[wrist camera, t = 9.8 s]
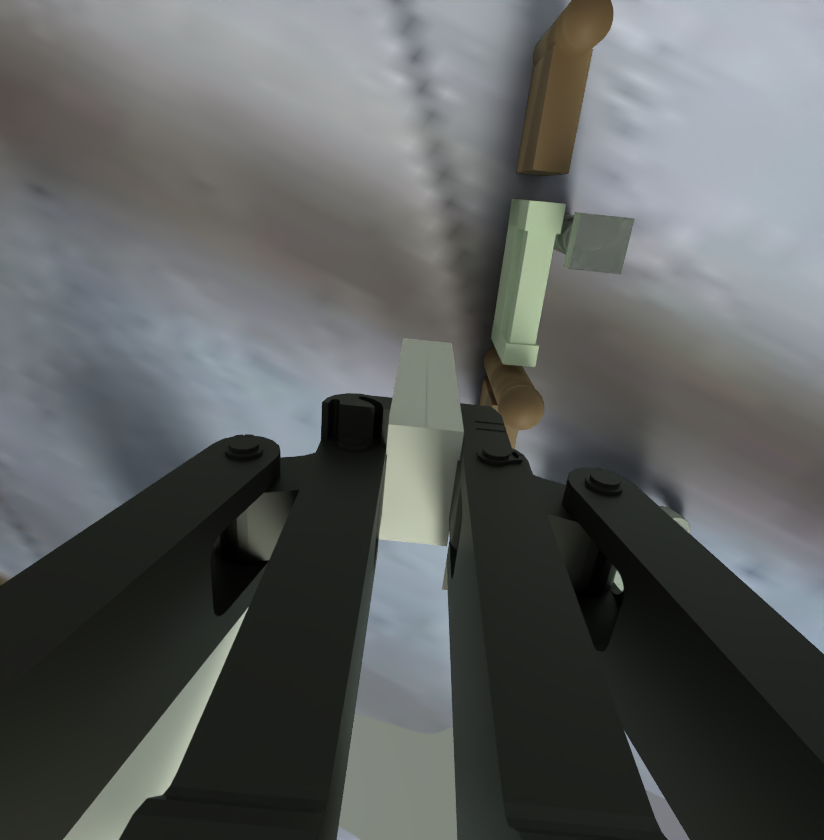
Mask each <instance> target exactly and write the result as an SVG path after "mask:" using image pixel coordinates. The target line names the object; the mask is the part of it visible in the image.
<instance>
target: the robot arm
mask: <svg viewBox="0 0 824 840" xmlns="http://www.w3.org/2000/svg"><path fill="white" fill-rule="evenodd" d="M449 533H450V541H449V548H448V554H447V561H446V567H445V574H444V581H443V587H442V589H443V590H448V608H449V634H450V660H451V685H452V711H453V737H454V762H455V787H456V813H457V839H458V840H668V839H667V838H666V837H665V836H664V835H663V833H662V832H661V830H660V828H659V825H658V823H657V821H656V819H655V816H654V814H653V811H652V808H651V805H650V802H649V800H648V797H647V794H646V791H645V788H644V785H643V783H642V780H641V777H640V774H639V771H638V769H637V766H636V763H635V760H634V757H633V755H632V752H631V749H630V746H629V743H628V740H627V738H626V735H625V732H626V734H627V736H628V737H629V739H630V741H631V742H632V744H633V746H634V747H635V749H636V751H637V752H638V754H639V756H640V757H641V759H642V761H643V762H644V764H645V766H646V767H647V769H648V771H649V772H650V774H651V776H652V777H653V779H654V781H655V782H656V784H657V786H658V787H659V789H660V791H661V792H662V794H663V795H664V797H665V799H666V800H667V802H668V804H669V805H670V807H671V809H672V810H673V812H674V814H675V815H676V817H677V819H678V820H679V822H680V824H681V825H682V827H683V829H684V830H685V832H686V834H687V835H688V837H689V839H690V840H824V654H823V653H822V652H821V651H820V650H819V649H817V648H816V647H815V646H814V645H813V644H812V643H811V642H810V641H808V640H807V639H806V638H805V637H804V636H803V635H802V634H801V633H800V632H798V631H797V630H796V629H795V628H794V627H793V626H792V625H791V624H790V623H788V622H787V621H786V620H785V619H784V618H783V617H782V616H781V615H780V614H778V613H777V612H776V611H775V610H774V609H773V608H772V607H771V606H769V605H768V604H767V603H766V602H765V601H764V600H763V599H762V598H761V597H759V596H758V595H757V594H756V593H755V592H754V591H753V590H752V589H751V588H749V587H748V586H747V585H746V584H745V583H744V582H743V581H742V580H741V579H739V578H738V577H737V576H736V575H735V574H734V573H733V572H732V571H730V570H729V569H728V568H727V567H726V566H725V565H724V564H723V563H722V562H720V561H719V560H718V559H717V558H716V557H715V556H714V555H713V554H712V553H710V552H709V551H708V550H707V549H706V548H705V547H704V546H703V545H702V544H700V543H699V542H698V541H697V540H696V539H695V538H694V537H693V536H692V535H690V534H689V533H688V532H687V531H686V530H685V529H684V528H683V527H681V526H680V525H679V524H678V523H677V522H676V521H675V520H674V519H673V518H671V517H670V516H669V515H668V514H667V513H666V512H665V511H664V510H663V509H661V508H660V507H659V506H658V505H657V504H656V503H655V502H654V501H653V500H651V499H650V498H649V497H648V496H647V495H646V494H645V493H644V492H642V491H641V490H640V489H639V488H638V487H637V486H636V485H635V484H633V483H632V482H630V481H629V480H628V479H626V478H625V477H622V476H620V475H618V474H615V472H613V471H610V470H607V469H606V470H604V469H602V468H580V469H575V470H574V471H572V472H570V473H569V476H568V480H567V484H566V485H564V484H560V483H556V482H553V481H549V480H546V479H543V478H540V477H537V476H535V475H533V474H532V471H531V468H530V465H529V462H528V460H527V459H526V458H525V456H524V455H523V454H521V453H520V452H518V451H517V450H515V449H512V447H511V444H510V441H509V437H508V434H507V433H506V428H505V426H504V422H503V419H502V415H501V414H500V413H498V412H497V411H496V410H495V409H494V408H492V407H491V406H481V405H471V404H462V403H460V399H459V392H458V385H457V378H456V371H455V363H454V356H453V349H452V343H445V342H435V341H425V340H416V339H406V338H403V344H402V349H401V355H400V360H399V366H398V371H397V376H396V382H395V387H394V393H393V398H388V397H379V396H370V395H364V394H350V393H347V394H339V395H334V396H331V397H328V398H326V399H325V400H324V401H323V402H322V425H321V442H320V444H319V446H318V449H317V451H316V453H313V454H309V455H305V456H297V457H282V458H280V448H279V445H278V444H277V443H275V442H274V441H273V440H270V439H267V438H264V437H259V436H254V435H245V436H243V435H236V436H234V437H230V438H225V439H222V440H220V441H218V442H216V443H214V444H212V445H211V446H209V447H208V448H206V449H205V450H203V451H202V452H200V453H199V454H197V455H196V456H194V457H193V458H191V459H190V460H188V461H187V462H185V463H184V464H182V465H181V466H179V467H178V468H176V469H175V470H173V471H172V472H170V473H169V474H167V475H166V476H164V477H163V478H161V479H160V480H158V481H157V482H155V483H154V484H152V485H151V486H149V487H148V488H146V489H145V490H143V491H142V492H140V493H139V494H137V495H136V496H134V497H133V498H131V499H130V500H128V501H127V502H125V503H124V504H122V505H121V506H119V507H118V508H116V509H115V510H113V511H112V512H110V513H109V514H107V515H106V516H104V517H103V518H101V519H100V520H98V521H97V522H95V523H94V524H92V525H91V526H89V527H88V528H86V529H85V530H83V531H82V532H80V533H79V534H77V535H76V536H74V537H73V538H71V539H70V540H68V541H67V542H65V543H64V544H62V545H61V546H59V547H58V548H56V549H55V550H53V551H52V552H50V553H49V554H47V555H46V556H44V557H43V558H41V559H40V560H38V561H37V562H35V563H34V564H32V565H31V566H29V567H28V568H26V569H25V570H24V571H22V572H21V573H19V574H18V575H16V576H15V577H13V578H12V579H10V580H9V581H7V582H6V583H4V584H3V585H1V586H0V840H63V839H64V838H65V837H66V835H67V834H68V833H69V832H70V830H71V829H72V828H73V827H74V825H75V824H76V823H77V822H78V820H79V819H80V818H81V816H82V815H83V814H84V813H85V811H86V810H87V809H88V808H89V806H90V805H91V804H92V803H93V801H94V800H95V799H96V798H97V796H98V795H99V794H100V793H101V791H102V790H103V789H104V788H105V786H106V785H107V784H108V783H109V781H110V780H111V779H112V778H113V776H114V775H115V774H116V773H117V771H118V770H119V769H120V768H121V766H122V765H123V764H124V763H125V761H126V760H127V759H128V758H129V756H130V755H131V754H132V753H133V751H134V750H135V749H136V748H137V746H138V745H139V744H140V743H141V741H142V740H143V739H144V738H145V736H146V735H147V734H148V733H149V731H150V730H151V729H152V728H153V726H154V725H155V724H156V723H157V721H158V720H159V719H160V717H161V716H162V715H163V714H164V712H165V711H166V710H167V709H168V707H169V706H170V705H171V704H172V702H173V701H174V700H175V699H176V697H177V696H178V695H179V694H180V692H181V691H182V690H183V689H184V687H185V686H186V685H187V684H188V682H189V681H190V680H191V679H192V677H193V676H194V675H195V674H196V672H197V671H198V670H199V669H200V667H201V666H202V665H203V664H204V662H205V661H206V660H207V659H208V657H209V656H210V655H211V654H212V652H213V651H214V650H215V649H216V647H217V646H218V645H219V644H220V642H221V641H222V640H223V639H224V637H225V636H226V635H227V634H228V632H229V631H230V630H231V629H232V627H233V626H234V625H235V623H236V622H237V621H238V620H239V618H240V617H241V616H242V615H243V613H244V612H245V611H246V610H247V608H248V607H249V608H248V610H247V612H246V614H245V617H244V619H243V621H242V624H241V626H240V628H239V631H238V633H237V635H236V637H235V640H234V642H233V644H232V647H231V649H230V651H229V654H228V656H227V658H226V661H225V663H224V665H223V667H222V670H221V672H220V674H219V677H218V679H217V681H216V684H215V686H214V688H213V690H212V693H211V695H210V697H209V700H208V702H207V704H206V707H205V709H204V711H203V713H202V716H201V718H200V720H199V723H198V725H197V727H196V730H195V732H194V734H193V737H192V739H191V741H190V743H189V746H188V748H187V750H186V753H185V755H184V757H183V760H182V762H181V764H180V766H179V769H178V771H177V773H176V775H175V777H174V779H173V781H172V783H171V785H170V787H169V788H168V789H167V790H166V791H165V793H164V794H163V795H160V796H155V797H150V798H147V799H146V800H145V801H144V802H143V803H142V804H141V806H140V807H139V808H138V809H137V810H136V811H135V812H134V814H133V815H132V817H131V819H130V820H129V822H128V824H127V826H126V828H125V829H124V831H123V833H122V835H121V836H120V838H119V840H337V833H338V826H339V818H340V811H341V805H342V798H343V790H344V784H345V776H346V770H347V763H348V756H349V748H350V742H351V735H352V728H353V721H354V714H355V707H356V700H357V693H358V686H359V679H360V672H361V665H362V658H363V651H364V644H365V637H366V630H367V623H368V616H369V609H370V602H371V595H372V588H373V581H374V574H375V567H376V560H377V552H378V540H379V539H382V540H392V541H402V542H412V543H422V544H432V545H442V546H447V542H448V535H449ZM616 571H618V573H619V574H620V576H621V579H622V582H623V587H624V589H623V591H621V590H620V589H619V588H618V587H617V585H616V584H615V583H614V582H613V581H614V578H615V575H616ZM624 731H625V732H624Z"/></svg>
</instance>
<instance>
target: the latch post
mask: <svg viewBox="0 0 824 840" xmlns="http://www.w3.org/2000/svg"><path fill="white" fill-rule="evenodd" d="M633 222H634V219H632V218H625V217H615V216H606V215H596V214H587V213H577V212H575V214H574V215H570V214H564V218H563V223H562V228H561V233H560V234H556V236H555V241H554V247H553V249H555V250H557V251H559V252H562V253H564V254H566V258H565V263H564V266H565V267H567V268H568V269H575V270H585V271H595V272H604V273H614V274H621V271H622V267H623V263H624V259H625V255H626V251H627V247H628V242H629V238H630V234H631V230H632V226H633Z"/></svg>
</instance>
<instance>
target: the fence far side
mask: <svg viewBox="0 0 824 840" xmlns="http://www.w3.org/2000/svg"><path fill="white" fill-rule="evenodd" d="M612 21H613V6H612V3H611V0H572V1H571V2H570V3H569V4H568V6H567V7H566V8H565V10H564V11H563V12H562V13H561V15H560V16H559V17H558V18H557V20H556V21H555V22H554V23H553V25H552V26H551V27H550V28H549V30H548V31H547V32H546V33H545V35H544V36H543V37H542V39H541V40H540V41H539V42H538V44H537V45H536V47H535V50H534V53H533V64H534V67H533V71H532V77H531V84H530V90H529V96H528V102H527V109H526V115H525V121H524V127H523V134H522V140H521V146H520V152H519V159H518V165H517V171H516V173H525V174H534V175H543V176H550V175H560V174H568V173H569V168H570V163H571V158H572V153H573V148H574V143H575V138H576V132H577V127H578V122H579V117H580V112H581V107H582V102H583V97H584V92H585V87H586V81H587V76H588V71H589V66H590V61H591V56H592V51H593V49H592V48H593V47H594V46H595V45H597V44H598V43H599V42H600V41H601V40H602V39H603V38H604V37H605V36H606V35H607V33H608V32H609V30H610V28H611V25H612Z"/></svg>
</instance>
